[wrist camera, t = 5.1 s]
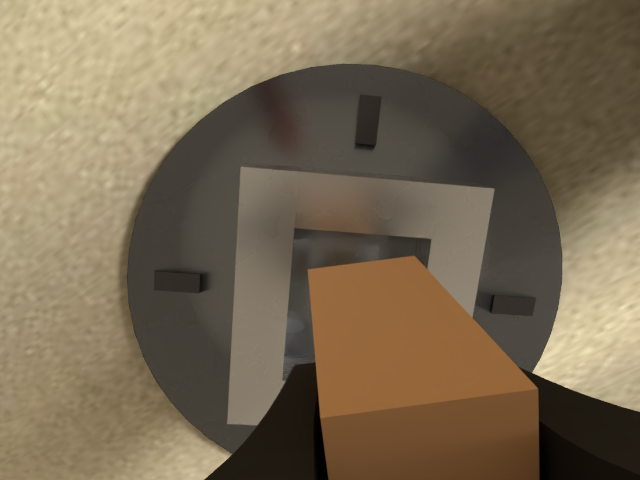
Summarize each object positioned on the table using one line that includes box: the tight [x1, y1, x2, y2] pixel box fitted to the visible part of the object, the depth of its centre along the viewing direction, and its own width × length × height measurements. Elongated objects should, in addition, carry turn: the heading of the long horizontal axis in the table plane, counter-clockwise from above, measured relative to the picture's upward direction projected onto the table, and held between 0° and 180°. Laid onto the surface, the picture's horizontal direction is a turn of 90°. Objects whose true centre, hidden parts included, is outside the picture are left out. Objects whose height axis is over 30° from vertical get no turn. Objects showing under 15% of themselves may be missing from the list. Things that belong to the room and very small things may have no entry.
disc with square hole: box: [127, 64, 562, 453], centre depth 19 cm, size 18×18×3 cm
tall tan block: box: [308, 256, 539, 480], centre depth 10 cm, size 3×4×7 cm
